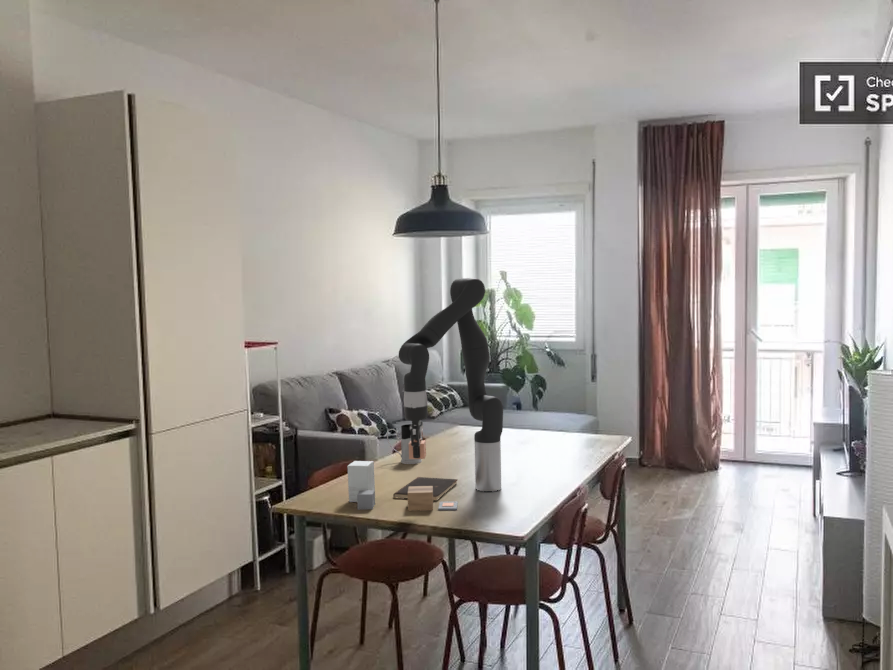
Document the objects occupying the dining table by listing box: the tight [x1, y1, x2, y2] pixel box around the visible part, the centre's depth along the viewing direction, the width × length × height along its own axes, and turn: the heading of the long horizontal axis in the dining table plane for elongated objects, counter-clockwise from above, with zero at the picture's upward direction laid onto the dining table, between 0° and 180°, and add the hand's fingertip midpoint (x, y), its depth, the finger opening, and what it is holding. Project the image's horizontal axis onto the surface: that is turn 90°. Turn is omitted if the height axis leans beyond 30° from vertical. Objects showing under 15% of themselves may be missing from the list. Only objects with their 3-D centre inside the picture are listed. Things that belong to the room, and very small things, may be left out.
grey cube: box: [356, 489, 376, 510], centre depth 250 cm, size 5×5×5 cm
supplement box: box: [347, 460, 376, 503], centre depth 259 cm, size 7×7×13 cm
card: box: [437, 500, 459, 511], centre depth 248 cm, size 8×6×1 cm
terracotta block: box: [409, 439, 427, 460], centre depth 248 cm, size 5×5×5 cm
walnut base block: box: [407, 486, 434, 511], centre depth 249 cm, size 8×8×6 cm
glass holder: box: [386, 423, 423, 465], centre depth 315 cm, size 9×14×15 cm, turn 88°
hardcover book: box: [392, 476, 458, 501], centre depth 269 cm, size 16×23×2 cm
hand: (417, 455), depth 248 cm, fingers closed on terracotta block, 5 cm apart
